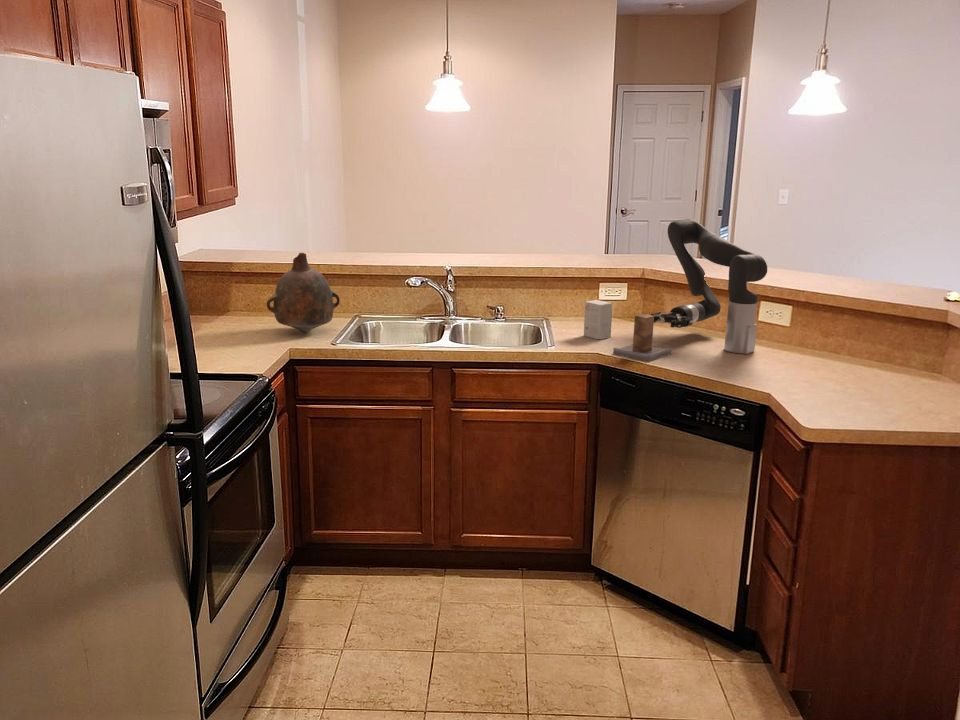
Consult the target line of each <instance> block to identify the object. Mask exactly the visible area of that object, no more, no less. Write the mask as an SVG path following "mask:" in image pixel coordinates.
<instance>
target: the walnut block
mask: <svg viewBox="0 0 960 720" xmlns="http://www.w3.org/2000/svg"><path fill="white" fill-rule="evenodd" d="M653 334H654V316H652V315H650V314H645V313H640V314H637V315H634V325H633V338H632V340H633V341H632V344H633V350H634V351H638V352H643V353H645V352H648V351H651V350H652V347H653V338H654V337H653V336H654V335H653Z"/></svg>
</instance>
